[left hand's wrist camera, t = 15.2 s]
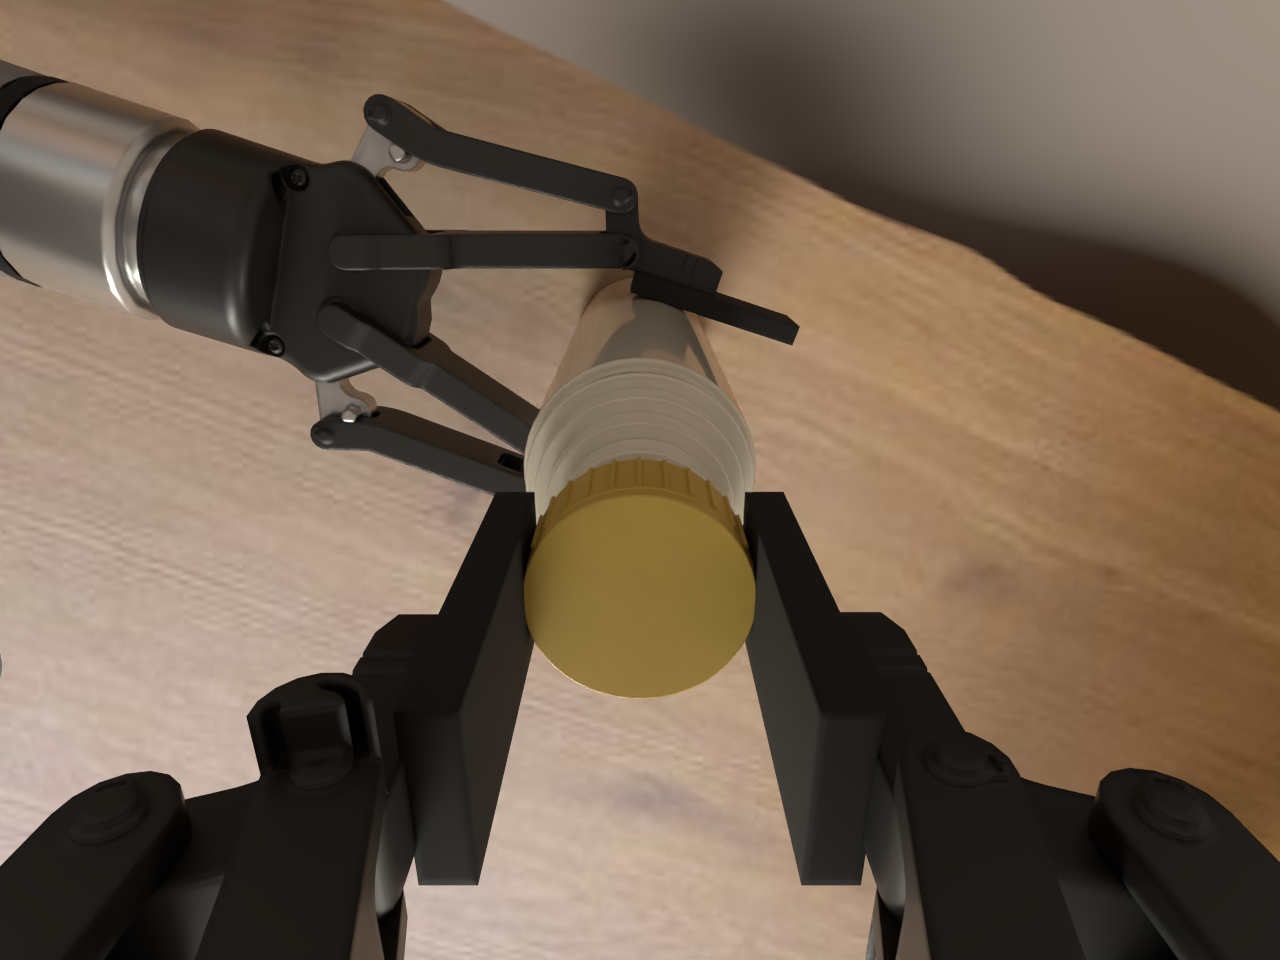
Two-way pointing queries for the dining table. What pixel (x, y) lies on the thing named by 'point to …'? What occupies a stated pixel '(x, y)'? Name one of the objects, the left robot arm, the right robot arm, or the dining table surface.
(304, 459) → the dining table surface
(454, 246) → the right robot arm
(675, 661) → the cap
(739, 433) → the bottle
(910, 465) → the dining table surface
